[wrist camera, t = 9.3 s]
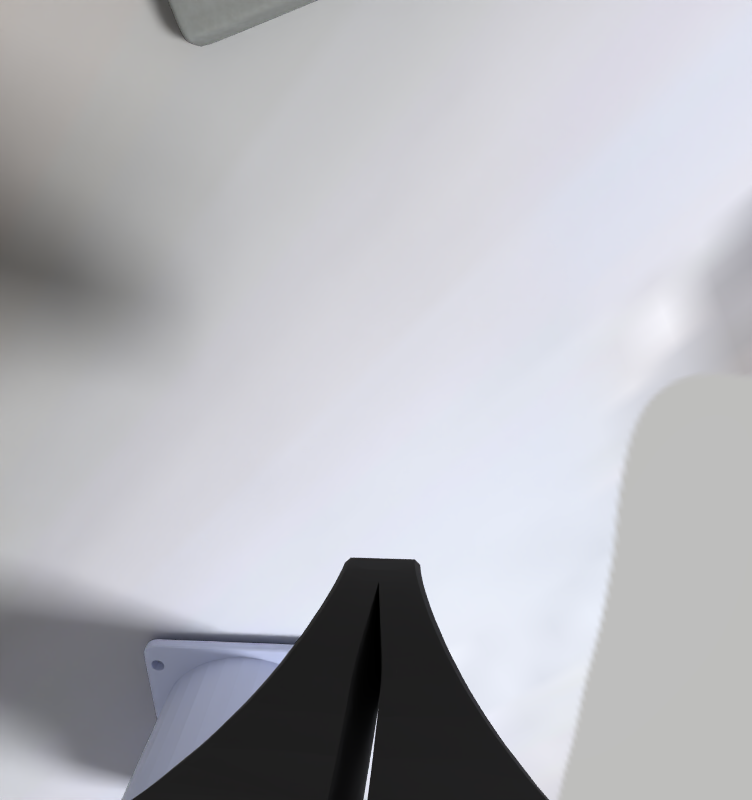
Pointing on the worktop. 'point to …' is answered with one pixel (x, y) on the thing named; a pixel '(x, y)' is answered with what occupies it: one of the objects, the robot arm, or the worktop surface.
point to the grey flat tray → (226, 16)
